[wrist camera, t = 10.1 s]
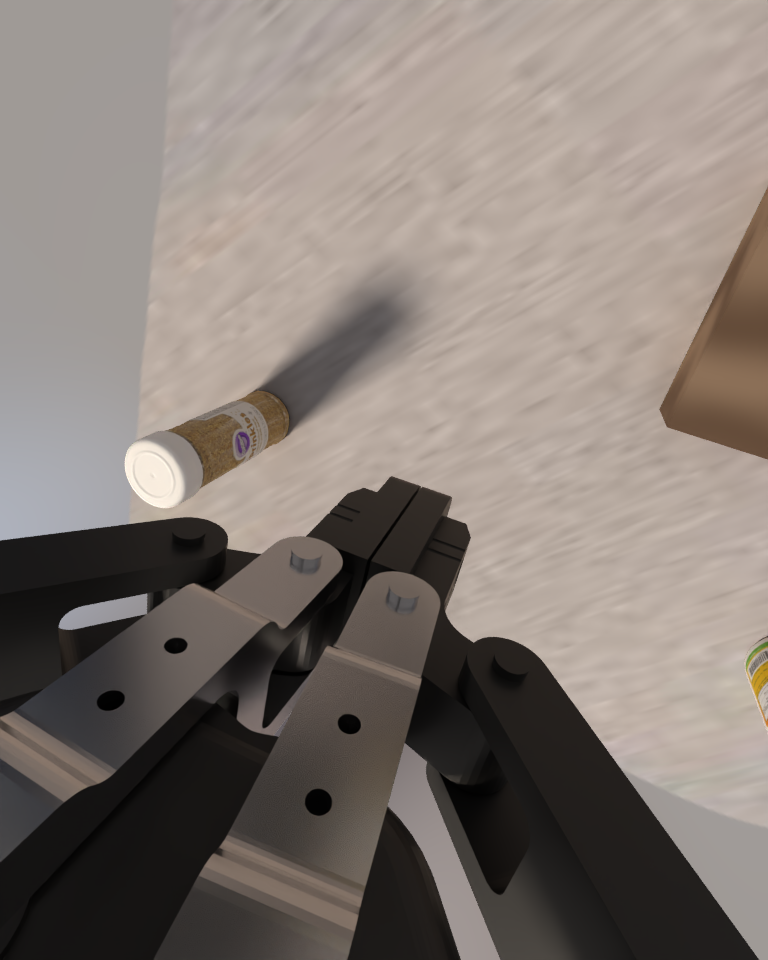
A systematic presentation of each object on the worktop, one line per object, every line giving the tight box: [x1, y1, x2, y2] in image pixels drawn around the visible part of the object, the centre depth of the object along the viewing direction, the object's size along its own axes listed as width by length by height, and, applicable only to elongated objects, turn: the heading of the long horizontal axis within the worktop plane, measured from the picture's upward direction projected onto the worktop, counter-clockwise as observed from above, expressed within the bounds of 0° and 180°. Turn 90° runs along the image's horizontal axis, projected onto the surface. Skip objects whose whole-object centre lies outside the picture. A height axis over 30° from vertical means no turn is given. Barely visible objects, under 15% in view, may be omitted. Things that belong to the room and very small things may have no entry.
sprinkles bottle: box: [125, 391, 289, 508], centre depth 39 cm, size 5×5×14 cm
